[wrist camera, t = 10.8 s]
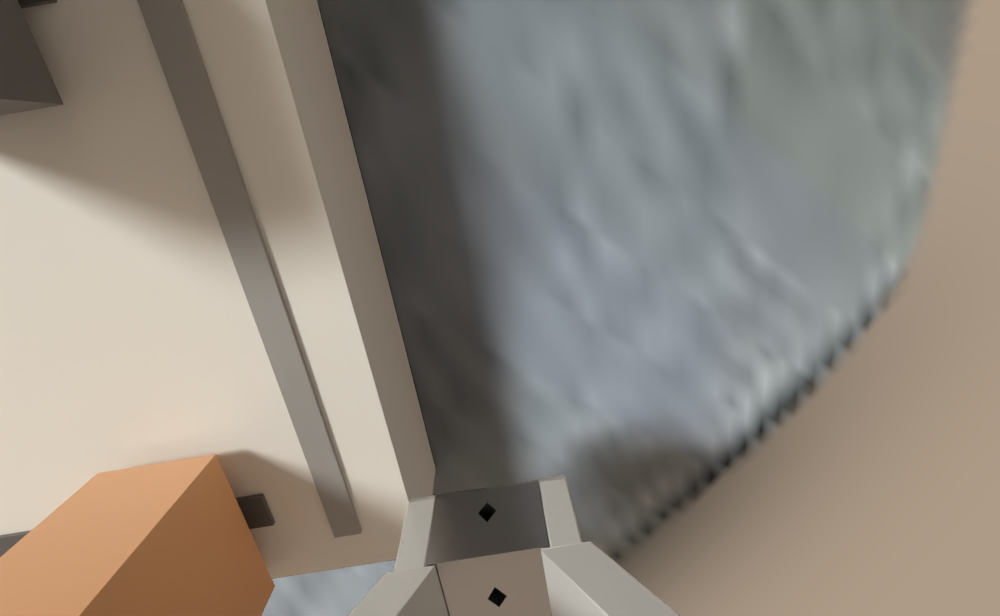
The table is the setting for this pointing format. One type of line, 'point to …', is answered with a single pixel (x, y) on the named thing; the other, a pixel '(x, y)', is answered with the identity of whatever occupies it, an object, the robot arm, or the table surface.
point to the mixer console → (201, 279)
